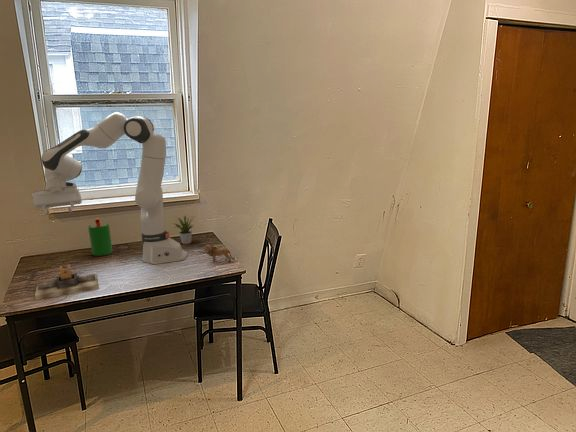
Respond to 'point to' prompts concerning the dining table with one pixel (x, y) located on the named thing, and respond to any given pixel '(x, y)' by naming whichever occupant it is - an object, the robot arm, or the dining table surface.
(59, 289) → the base
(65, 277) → the block
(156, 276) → the dining table surface
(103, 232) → the motor
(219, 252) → the lion figurine
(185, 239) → the house plant
